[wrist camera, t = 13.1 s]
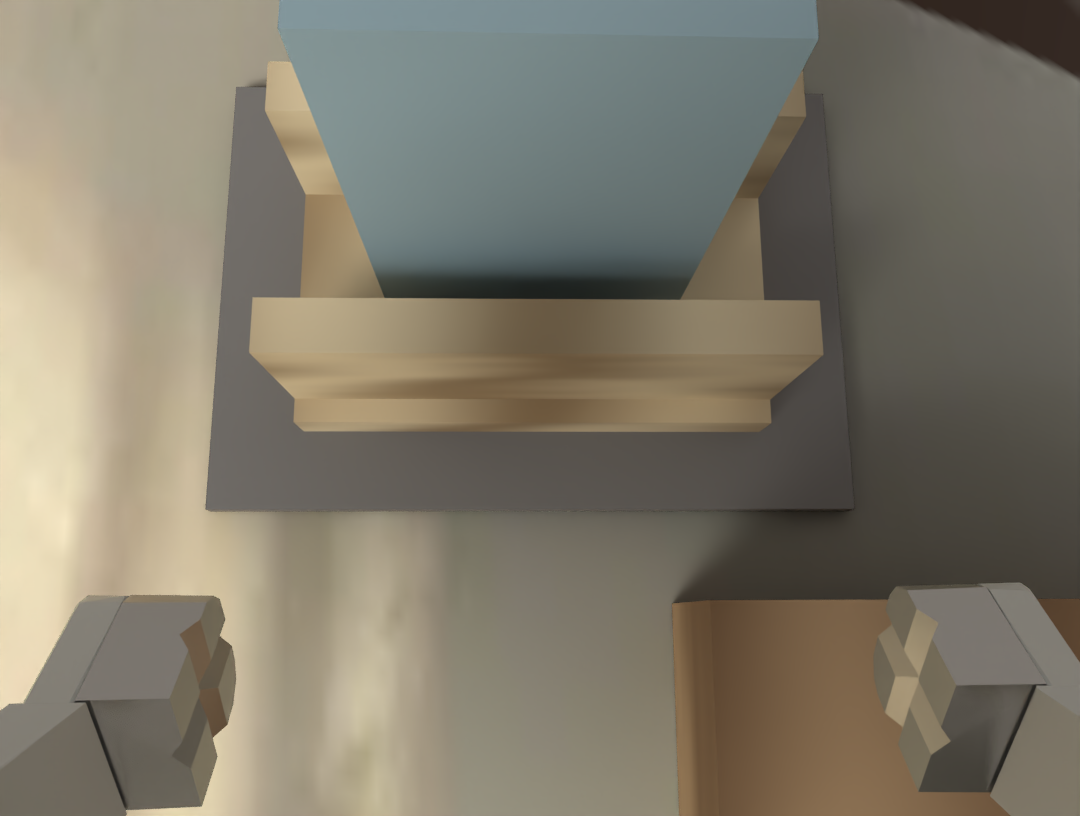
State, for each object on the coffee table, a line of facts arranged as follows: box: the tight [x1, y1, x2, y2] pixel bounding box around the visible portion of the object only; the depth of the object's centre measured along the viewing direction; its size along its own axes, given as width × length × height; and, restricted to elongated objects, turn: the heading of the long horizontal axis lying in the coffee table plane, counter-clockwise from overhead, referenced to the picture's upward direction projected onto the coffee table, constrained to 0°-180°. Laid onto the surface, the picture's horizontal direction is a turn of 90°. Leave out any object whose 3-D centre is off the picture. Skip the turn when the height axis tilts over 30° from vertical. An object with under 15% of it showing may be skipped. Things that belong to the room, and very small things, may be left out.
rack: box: [249, 62, 823, 432], centre depth 19 cm, size 10×7×5 cm, turn 90°
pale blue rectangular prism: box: [278, 0, 819, 300], centre depth 16 cm, size 6×2×10 cm, turn 90°
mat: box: [206, 87, 855, 512], centre depth 22 cm, size 14×10×1 cm
